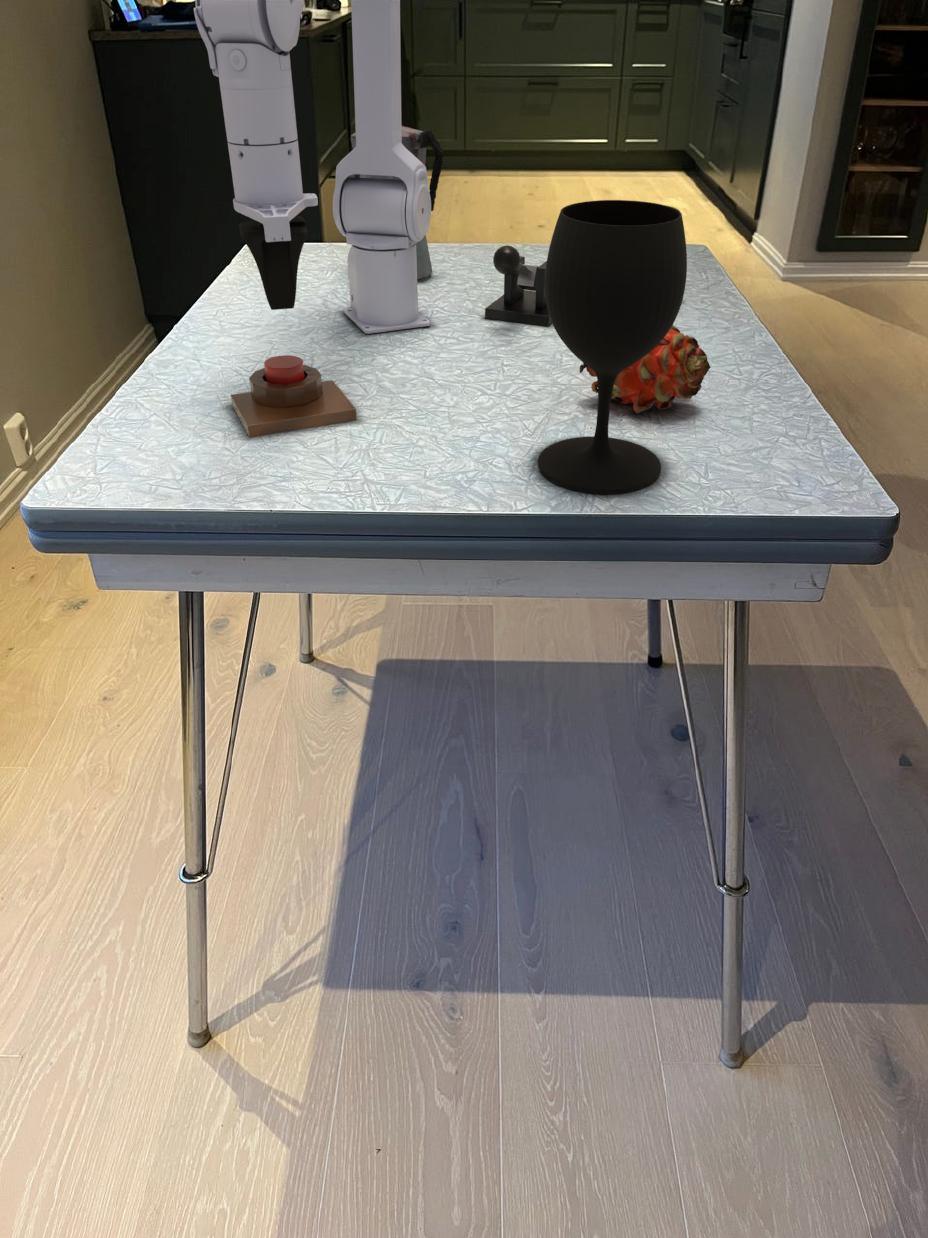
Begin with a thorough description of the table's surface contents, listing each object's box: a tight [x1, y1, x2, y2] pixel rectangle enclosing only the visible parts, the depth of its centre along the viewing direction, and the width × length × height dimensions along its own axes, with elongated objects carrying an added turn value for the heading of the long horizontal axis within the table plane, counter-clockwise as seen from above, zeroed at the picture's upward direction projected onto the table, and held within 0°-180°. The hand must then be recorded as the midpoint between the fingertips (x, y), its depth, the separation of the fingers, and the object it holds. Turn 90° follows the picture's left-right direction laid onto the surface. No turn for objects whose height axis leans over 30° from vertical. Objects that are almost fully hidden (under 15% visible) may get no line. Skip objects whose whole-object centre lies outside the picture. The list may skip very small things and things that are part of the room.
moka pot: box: [350, 125, 444, 280], centre depth 122 cm, size 10×15×20 cm, turn 54°
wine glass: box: [537, 199, 688, 495], centre depth 73 cm, size 10×10×20 cm
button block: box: [230, 364, 358, 439], centre depth 88 cm, size 10×9×3 cm
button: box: [263, 354, 305, 384], centre depth 88 cm, size 4×4×2 cm
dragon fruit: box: [579, 324, 712, 414], centre depth 88 cm, size 8×8×12 cm
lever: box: [492, 244, 539, 291], centre depth 108 cm, size 12×3×3 cm, turn 157°
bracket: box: [484, 255, 552, 327], centre depth 113 cm, size 9×8×6 cm
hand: (282, 306), depth 85 cm, fingers closed
